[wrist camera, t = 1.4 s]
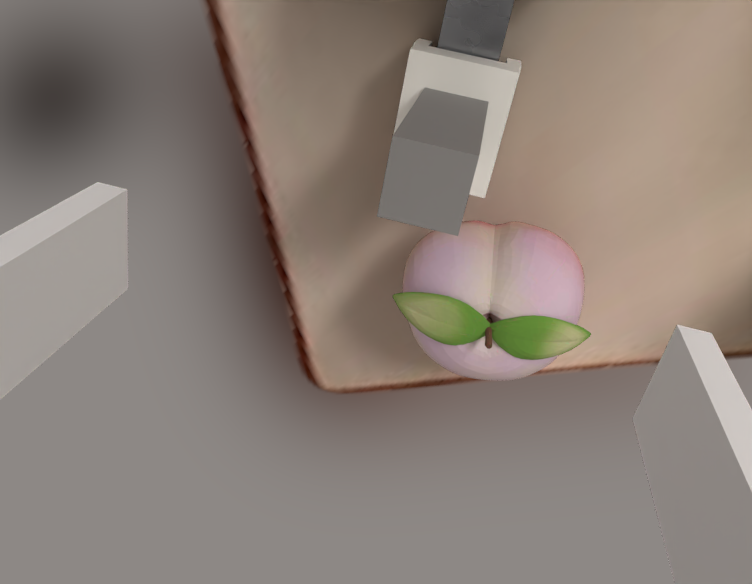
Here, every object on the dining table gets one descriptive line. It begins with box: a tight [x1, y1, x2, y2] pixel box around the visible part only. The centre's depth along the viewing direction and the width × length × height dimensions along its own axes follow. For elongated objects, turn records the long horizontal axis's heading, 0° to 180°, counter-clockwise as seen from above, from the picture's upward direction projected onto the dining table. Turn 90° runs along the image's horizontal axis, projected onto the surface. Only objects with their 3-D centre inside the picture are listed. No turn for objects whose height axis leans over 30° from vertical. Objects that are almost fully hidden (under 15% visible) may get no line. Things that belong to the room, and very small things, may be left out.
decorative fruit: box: [393, 221, 591, 380], centre depth 34 cm, size 9×8×10 cm
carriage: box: [377, 38, 522, 236], centre depth 28 cm, size 6×5×13 cm
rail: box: [437, 0, 514, 61], centre depth 32 cm, size 12×3×2 cm, turn 170°
